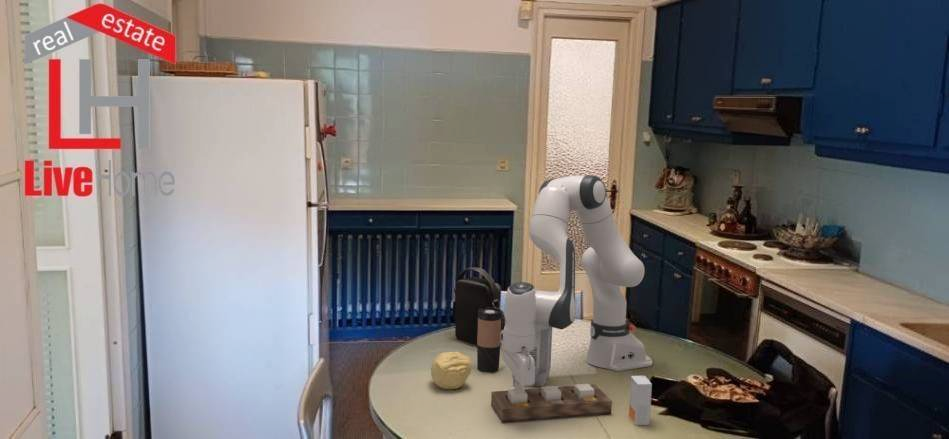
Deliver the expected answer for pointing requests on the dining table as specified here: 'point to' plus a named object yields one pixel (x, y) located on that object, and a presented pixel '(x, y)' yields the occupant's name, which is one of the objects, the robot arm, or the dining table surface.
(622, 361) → the robot arm
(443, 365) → the sculpture
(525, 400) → the button
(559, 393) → the button middle
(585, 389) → the button
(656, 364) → the dining table surface
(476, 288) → the shoulder bag
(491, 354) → the travel mug
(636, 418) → the skincare box
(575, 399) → the button board
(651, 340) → the dining table surface
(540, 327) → the juice carton
